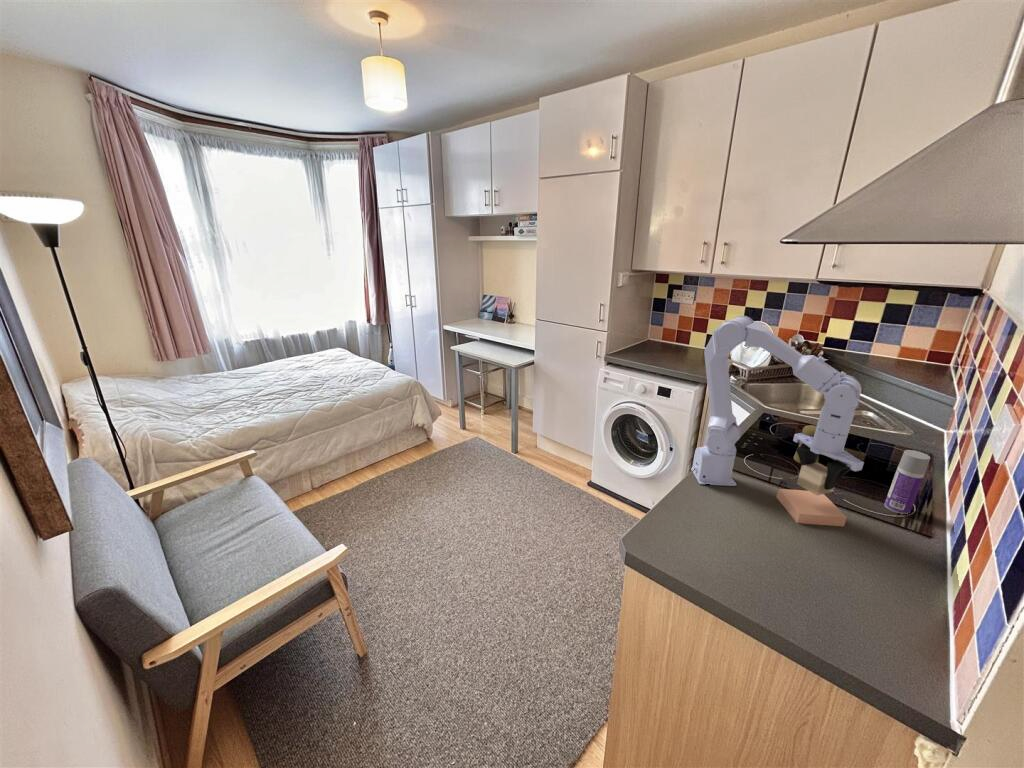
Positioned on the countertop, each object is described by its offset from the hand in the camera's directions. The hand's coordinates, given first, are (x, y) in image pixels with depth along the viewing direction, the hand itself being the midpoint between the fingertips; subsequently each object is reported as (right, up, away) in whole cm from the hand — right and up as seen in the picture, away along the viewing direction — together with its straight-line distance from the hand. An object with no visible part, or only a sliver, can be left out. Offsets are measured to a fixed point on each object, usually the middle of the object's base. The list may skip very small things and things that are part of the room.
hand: (816, 481), depth 96 cm
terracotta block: (0, -8, +3) cm, 9 cm away
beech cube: (0, -1, 0) cm, 2 cm away
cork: (+15, 0, +25) cm, 29 cm away
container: (+22, -8, +4) cm, 24 cm away
